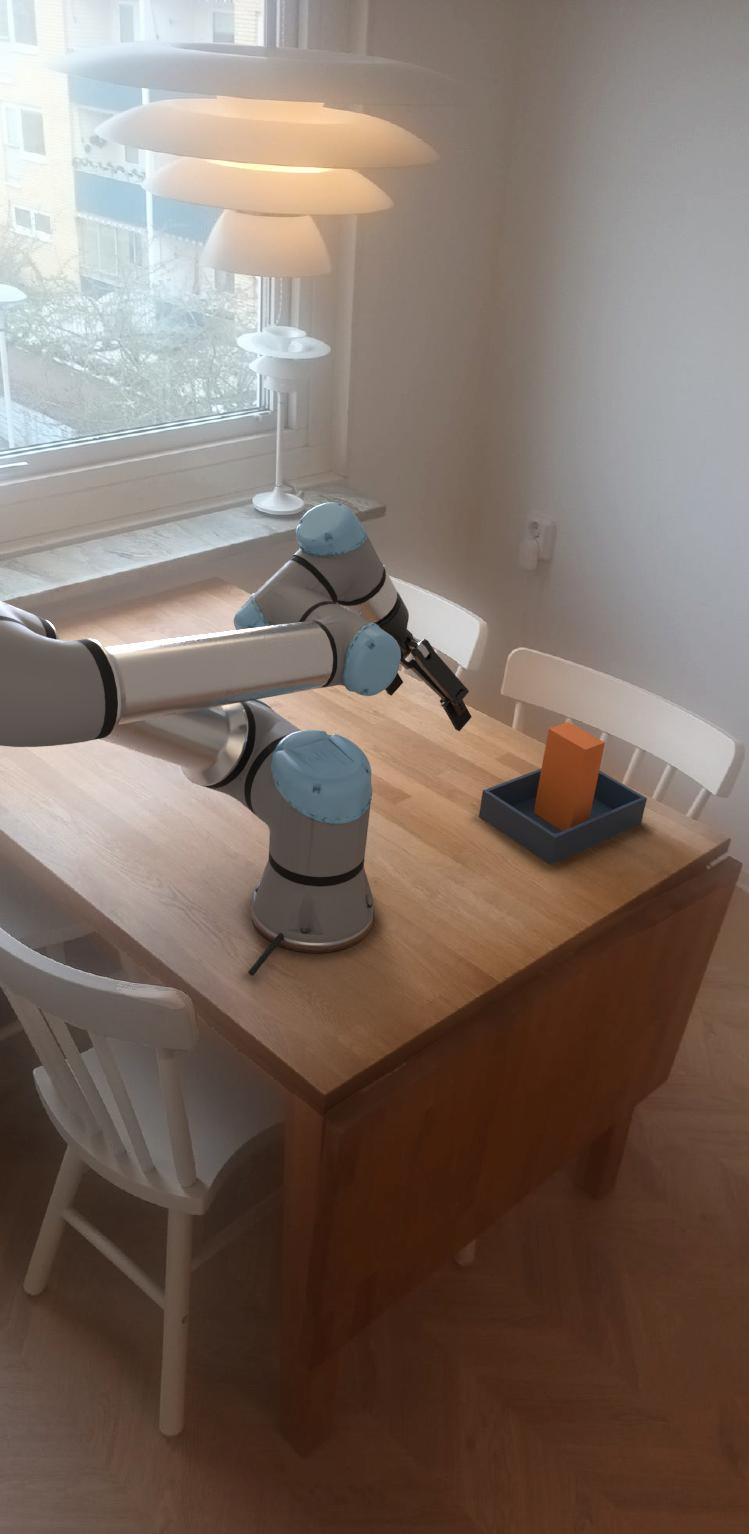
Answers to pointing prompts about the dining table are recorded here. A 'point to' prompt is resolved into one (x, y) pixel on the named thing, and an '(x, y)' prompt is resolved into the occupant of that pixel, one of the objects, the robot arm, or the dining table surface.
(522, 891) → the dining table surface
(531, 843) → the bin
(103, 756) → the dining table surface
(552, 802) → the block
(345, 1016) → the dining table surface
